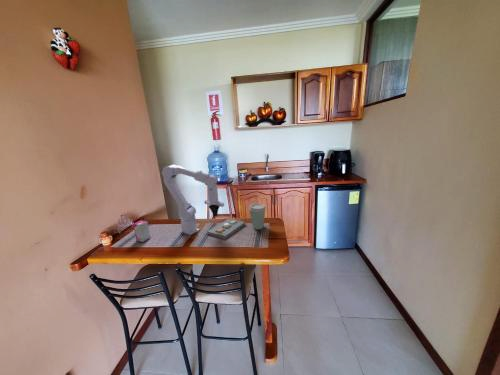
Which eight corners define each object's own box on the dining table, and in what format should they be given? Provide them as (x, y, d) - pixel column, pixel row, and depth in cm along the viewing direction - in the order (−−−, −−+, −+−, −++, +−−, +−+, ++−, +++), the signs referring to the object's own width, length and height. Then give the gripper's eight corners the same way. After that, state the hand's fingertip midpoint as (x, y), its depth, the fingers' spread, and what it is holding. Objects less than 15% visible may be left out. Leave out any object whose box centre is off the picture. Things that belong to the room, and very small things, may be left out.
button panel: (207, 234, 121) (207, 231, 121) (228, 221, 138) (228, 218, 138) (225, 239, 114) (224, 236, 114) (245, 224, 131) (244, 222, 131)
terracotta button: (215, 233, 120) (215, 230, 120) (220, 230, 124) (219, 228, 123) (220, 235, 118) (220, 232, 118) (225, 232, 121) (224, 229, 121)
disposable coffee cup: (264, 223, 132) (263, 201, 128) (268, 230, 122) (267, 207, 118) (249, 224, 131) (247, 203, 127) (251, 232, 120) (249, 209, 117)
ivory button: (222, 227, 125) (222, 225, 125) (226, 225, 129) (226, 222, 128) (227, 229, 123) (227, 226, 123) (231, 226, 126) (231, 223, 126)
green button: (228, 225, 131) (228, 222, 130) (232, 222, 134) (232, 220, 134) (233, 226, 129) (233, 223, 128) (237, 223, 132) (237, 221, 131)
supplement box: (151, 238, 122) (147, 221, 119) (142, 242, 116) (138, 225, 114) (144, 236, 124) (141, 219, 121) (136, 241, 119) (132, 223, 116)
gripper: (199, 195, 120) (202, 216, 124) (217, 198, 112) (220, 220, 116) (208, 192, 126) (210, 212, 129) (225, 195, 118) (227, 216, 121)
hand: (215, 215), depth 123 cm, fingers closed
